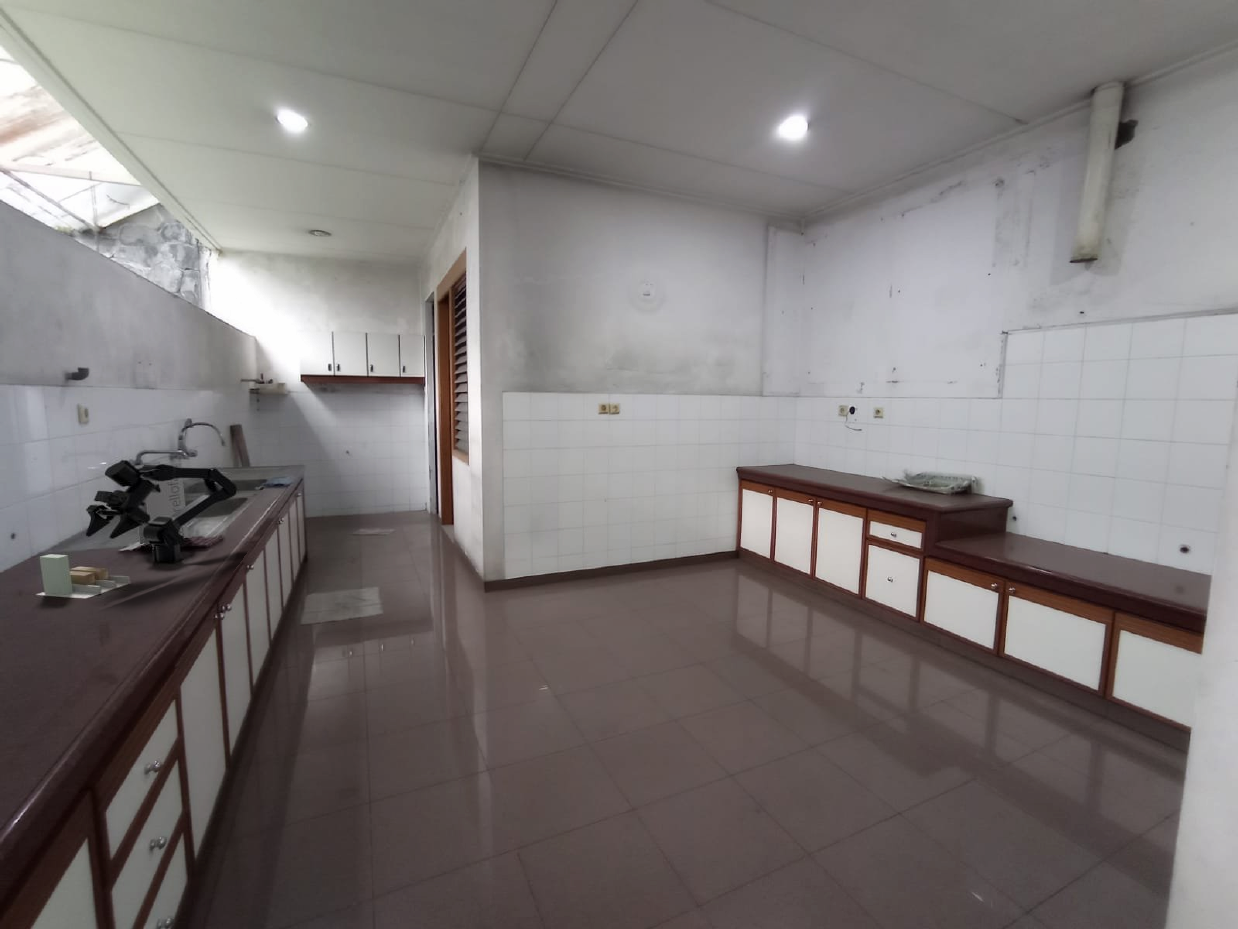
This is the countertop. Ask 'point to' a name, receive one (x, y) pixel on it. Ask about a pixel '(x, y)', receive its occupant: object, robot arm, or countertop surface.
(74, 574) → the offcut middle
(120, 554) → the countertop surface
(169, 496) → the white cardboard box
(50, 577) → the sage green block
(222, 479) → the robot arm
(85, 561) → the countertop surface
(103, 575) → the offcut front
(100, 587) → the rack
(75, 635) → the countertop surface
